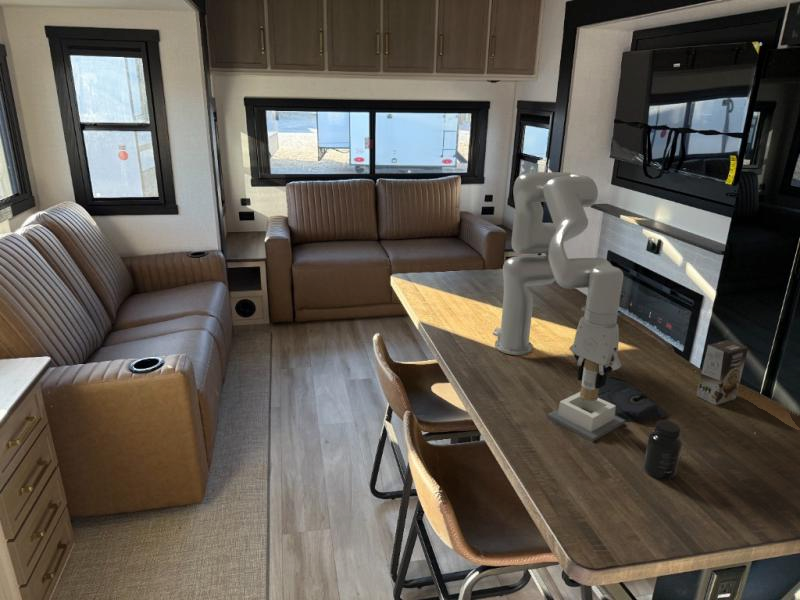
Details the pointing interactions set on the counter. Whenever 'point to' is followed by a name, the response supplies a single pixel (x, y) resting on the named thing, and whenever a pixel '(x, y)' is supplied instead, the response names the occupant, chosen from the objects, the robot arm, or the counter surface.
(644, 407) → the dark slate chunk
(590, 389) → the sprinkles bottle
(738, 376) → the coffee box
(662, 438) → the supplement bottle
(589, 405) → the bottle holder
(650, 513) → the counter surface
